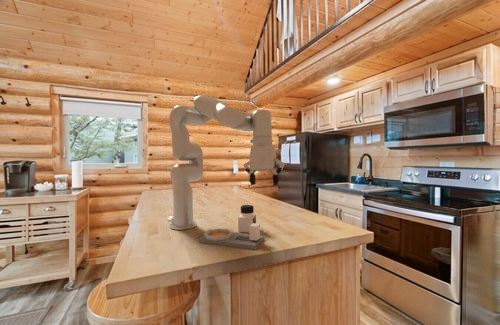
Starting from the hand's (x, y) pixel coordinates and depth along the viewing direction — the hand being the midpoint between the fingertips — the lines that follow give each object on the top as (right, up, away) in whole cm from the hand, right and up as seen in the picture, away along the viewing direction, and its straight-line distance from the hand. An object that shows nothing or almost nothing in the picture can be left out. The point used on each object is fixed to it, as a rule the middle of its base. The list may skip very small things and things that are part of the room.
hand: (264, 184), depth 94 cm
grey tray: (-13, -24, +4) cm, 27 cm away
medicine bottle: (-7, -23, +18) cm, 30 cm away
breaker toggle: (-4, -22, 0) cm, 22 cm away
